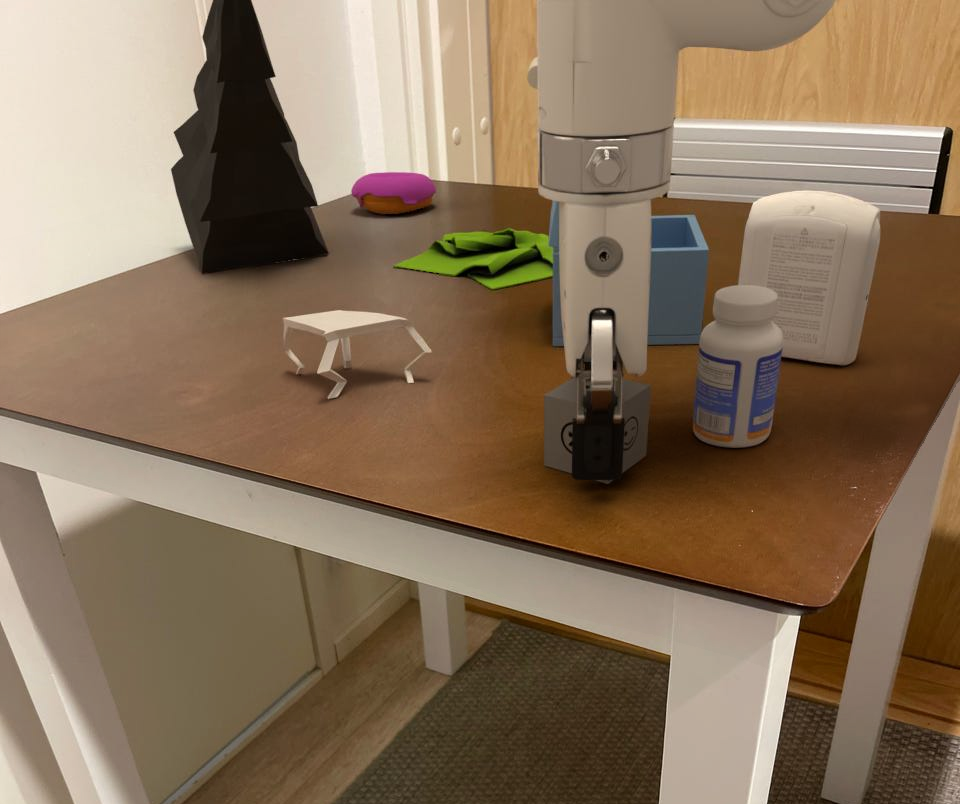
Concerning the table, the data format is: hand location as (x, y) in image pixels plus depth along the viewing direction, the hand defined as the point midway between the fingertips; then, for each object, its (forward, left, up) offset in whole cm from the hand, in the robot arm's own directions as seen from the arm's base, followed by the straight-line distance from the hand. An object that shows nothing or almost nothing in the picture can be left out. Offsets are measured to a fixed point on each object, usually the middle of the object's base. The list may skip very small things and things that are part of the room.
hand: (595, 449), depth 65 cm
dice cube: (0, 0, -1) cm, 1 cm away
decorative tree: (+36, -50, -1) cm, 62 cm away
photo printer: (-17, -20, -1) cm, 26 cm away
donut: (+25, -75, -1) cm, 79 cm away
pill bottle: (-10, -4, -1) cm, 10 cm away
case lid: (+2, -28, +14) cm, 31 cm away
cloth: (+10, -50, -1) cm, 51 cm away
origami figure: (+19, -15, -1) cm, 24 cm away
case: (-3, -28, -1) cm, 28 cm away
